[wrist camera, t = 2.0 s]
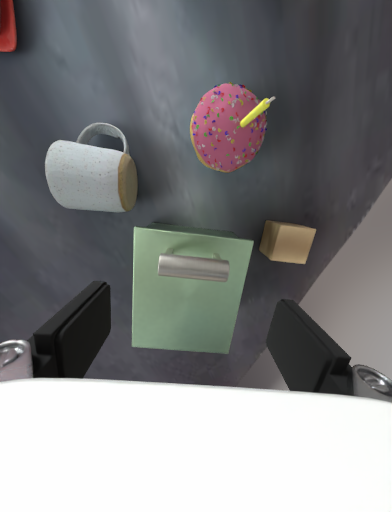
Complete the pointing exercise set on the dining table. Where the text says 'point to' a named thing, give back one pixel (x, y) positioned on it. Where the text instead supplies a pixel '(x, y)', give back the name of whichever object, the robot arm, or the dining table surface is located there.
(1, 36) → the butter dish
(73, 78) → the dining table surface
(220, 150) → the cupcake
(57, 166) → the ceramic mug
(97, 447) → the robot arm
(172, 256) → the lid
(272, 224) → the block
